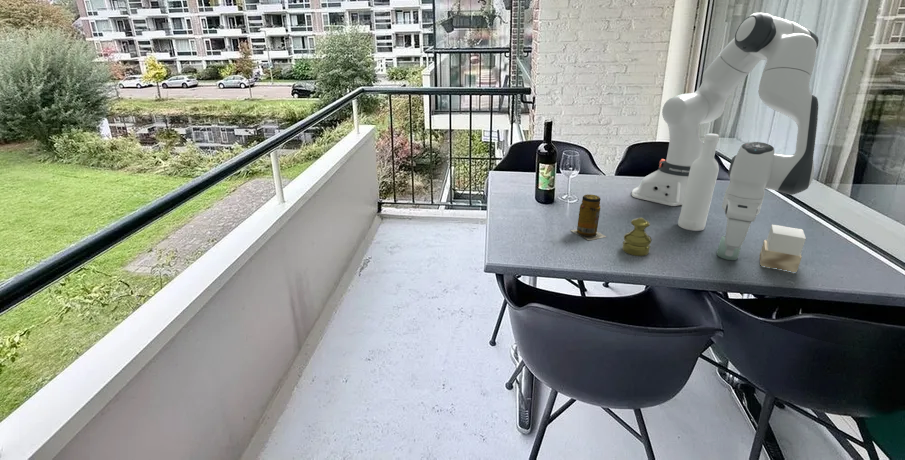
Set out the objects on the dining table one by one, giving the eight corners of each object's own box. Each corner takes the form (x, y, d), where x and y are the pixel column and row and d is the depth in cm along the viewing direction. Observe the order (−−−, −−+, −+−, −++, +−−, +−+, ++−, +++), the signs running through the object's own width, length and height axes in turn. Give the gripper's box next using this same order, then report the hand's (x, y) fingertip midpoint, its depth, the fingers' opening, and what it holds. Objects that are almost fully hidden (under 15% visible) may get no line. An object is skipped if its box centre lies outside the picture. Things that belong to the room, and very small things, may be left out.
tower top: (767, 250, 121) (773, 233, 119) (766, 240, 127) (771, 224, 125) (799, 256, 118) (805, 238, 116) (797, 246, 124) (802, 229, 122)
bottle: (704, 224, 150) (727, 133, 138) (704, 233, 144) (727, 138, 132) (678, 220, 154) (698, 130, 142) (676, 228, 147) (697, 135, 136)
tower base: (760, 266, 123) (765, 250, 121) (759, 255, 130) (764, 239, 128) (795, 274, 120) (801, 257, 118) (793, 262, 126) (798, 246, 124)
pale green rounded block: (716, 257, 128) (720, 240, 126) (717, 250, 132) (721, 234, 130) (737, 261, 125) (742, 245, 123) (737, 254, 129) (742, 238, 127)
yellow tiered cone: (653, 256, 128) (660, 223, 124) (628, 257, 128) (634, 223, 124) (641, 245, 135) (647, 213, 131) (617, 245, 134) (622, 214, 131)
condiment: (587, 227, 147) (592, 192, 143) (606, 237, 140) (612, 200, 136) (569, 231, 144) (574, 195, 140) (588, 241, 137) (593, 203, 133)
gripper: (729, 191, 132) (717, 235, 138) (727, 213, 116) (714, 261, 121) (754, 195, 129) (742, 240, 135) (756, 218, 113) (741, 267, 118)
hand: (728, 250), depth 128 cm, fingers closed on pale green rounded block, 5 cm apart
